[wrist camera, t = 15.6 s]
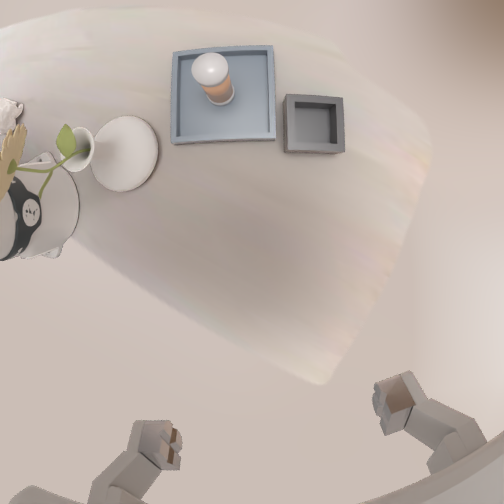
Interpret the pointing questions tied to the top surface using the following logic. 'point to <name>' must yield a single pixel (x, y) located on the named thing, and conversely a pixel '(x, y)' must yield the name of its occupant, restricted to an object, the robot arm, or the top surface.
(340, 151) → the socket block
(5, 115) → the white lumpy oval piece
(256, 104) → the parts tray
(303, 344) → the top surface
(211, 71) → the tan bottle
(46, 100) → the top surface
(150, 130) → the flower in vase
